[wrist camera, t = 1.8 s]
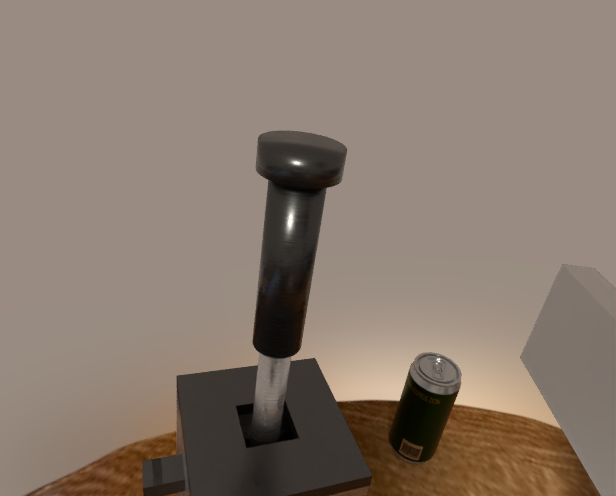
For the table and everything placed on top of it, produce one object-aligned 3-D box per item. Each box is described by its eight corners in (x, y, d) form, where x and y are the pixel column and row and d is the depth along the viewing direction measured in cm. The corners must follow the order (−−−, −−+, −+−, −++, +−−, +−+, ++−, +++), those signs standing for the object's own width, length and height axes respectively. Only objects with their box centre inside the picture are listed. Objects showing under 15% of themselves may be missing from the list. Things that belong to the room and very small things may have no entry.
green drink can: (434, 472, 51) (465, 393, 46) (386, 459, 52) (411, 379, 46) (433, 434, 56) (461, 358, 50) (389, 422, 57) (412, 346, 51)
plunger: (291, 444, 40) (345, 125, 27) (322, 535, 34) (413, 172, 21) (197, 463, 38) (209, 118, 25) (211, 565, 31) (238, 169, 18)
